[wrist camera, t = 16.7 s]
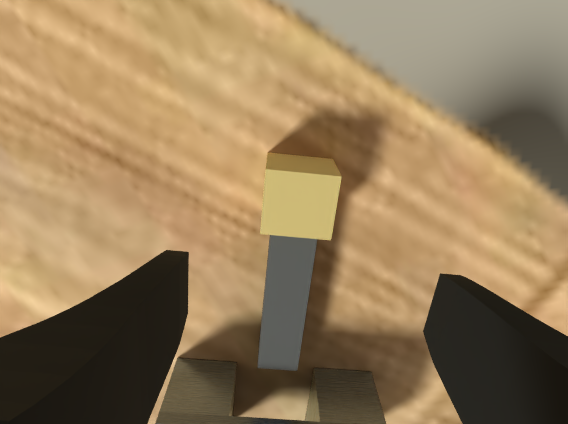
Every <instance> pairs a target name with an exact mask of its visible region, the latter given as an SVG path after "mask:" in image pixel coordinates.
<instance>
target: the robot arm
mask: <svg viewBox="0 0 568 424" xmlns="http://www.w3.org/2000/svg"><path fill="white" fill-rule="evenodd" d="M188 257H189V252H183V251H171V250H166V251H164V252H163V253H161V254H159V255H158V256H156V257H155V258H153V259H152V260H150V261H149V262H147V263H146V264H144V265H143V266H141V267H140V268H138V269H137V270H135V271H134V272H132V273H131V274H129V275H128V276H126V277H125V278H123V279H122V280H120V281H118V282H117V283H115V284H113V285H111V286H110V287H108V288H106V289H105V290H103V291H101V292H99V293H98V294H96V295H94V296H93V297H91V298H89V299H87V300H85V301H83V302H82V303H80V304H78V305H76V306H74V307H72V308H70V309H68V310H65V311H63V312H61V313H59V314H57V315H55V316H53V317H50V318H48V319H46V320H44V321H41V322H39V323H36V324H34V325H31V326H29V327H26V328H24V329H21V330H19V331H16V332H13V333H11V334H8V335H6V336H3V337H1V338H0V424H147V423H148V420H149V418H150V415H151V413H152V410H153V408H154V406H155V403H156V401H157V398H158V396H159V393H160V391H161V389H162V386H163V384H164V381H165V379H166V376H167V374H168V372H169V369H170V367H171V364H172V362H173V359H174V357H175V354H176V352H177V349H178V347H179V344H180V341H181V337H182V333H183V330H184V326H185V322H186V318H187V314H188ZM423 332H424V335H425V339H426V342H427V345H428V349H429V352H430V355H431V357H432V360H433V363H434V365H435V368H436V370H437V372H438V374H439V376H440V378H441V380H442V382H443V384H444V387H445V389H446V391H447V393H448V395H449V397H450V399H451V401H452V403H453V405H454V407H455V409H456V411H457V413H458V415H459V417H460V419H461V421H462V423H463V424H568V336H566V335H564V334H562V333H561V332H559V331H557V330H555V329H553V328H552V327H550V326H548V325H546V324H545V323H543V322H541V321H539V320H538V319H536V318H534V317H533V316H531V315H529V314H528V313H526V312H524V311H523V310H521V309H519V308H518V307H516V306H514V305H513V304H511V303H509V302H508V301H506V300H504V299H503V298H501V297H499V296H498V295H496V294H494V293H493V292H491V291H489V290H488V289H486V288H484V287H483V286H481V285H479V284H477V283H476V282H474V281H472V280H470V279H468V278H466V277H464V276H461V275H451V274H440V276H439V279H438V283H437V286H436V290H435V293H434V296H433V300H432V303H431V307H430V310H429V313H428V317H427V320H426V323H425V327H424V330H423Z"/></svg>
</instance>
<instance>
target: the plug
mask: <svg viewBox="0 0 568 424" xmlns="http://www.w3.org/2000/svg"><path fill="white" fill-rule="evenodd" d="M341 177H342V176H341V174H340V172H339V170H338V168H337V166H336V164H335V162H334V160H333V159H329V158H319V157H309V156H299V155H289V154H279V153H269V152H268V155H267V163H266V171H265V182H264V193H263V205H262V216H261V228H260V234H265V235H270V240H269V250H268V260H267V270H266V280H265V290H264V300H263V310H262V320H261V330H260V341H259V354H258V368H263V369H277V370H291V371H297V370H298V363H299V357H300V350H301V343H302V337H303V330H304V324H305V317H306V310H307V304H308V297H309V290H310V284H311V277H312V271H313V264H314V257H315V251H316V244H317V239H321V240H331V237H332V231H333V225H334V219H335V213H336V207H337V201H338V195H339V189H340V183H341Z"/></svg>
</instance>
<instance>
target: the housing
mask: <svg viewBox="0 0 568 424" xmlns="http://www.w3.org/2000/svg"><path fill="white" fill-rule="evenodd" d="M236 363H237V362H226V361H212V360H198V359H184V358H177V361H176V364H175V367H174V370H173V373H172V376H171V379H170V382H169V385H168V388H167V391H166V394H165V397H164V400H163V403H162V405H161V408H160V411H159V414H158V417H157V420H156V423H155V424H386V421H385V418H384V414H383V411H382V407H381V404H380V401H379V397H378V394H377V390H376V387H375V383H374V380H373V376H372V373H371V372H367V371H353V370H339V369H325V368H314V371H313V377H312V383H311V388H310V394H309V400H308V406H307V412H306V417H305V421H299V420H283V419H268V418H252V417H237V416H233V404H234V390H235V377H236Z"/></svg>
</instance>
